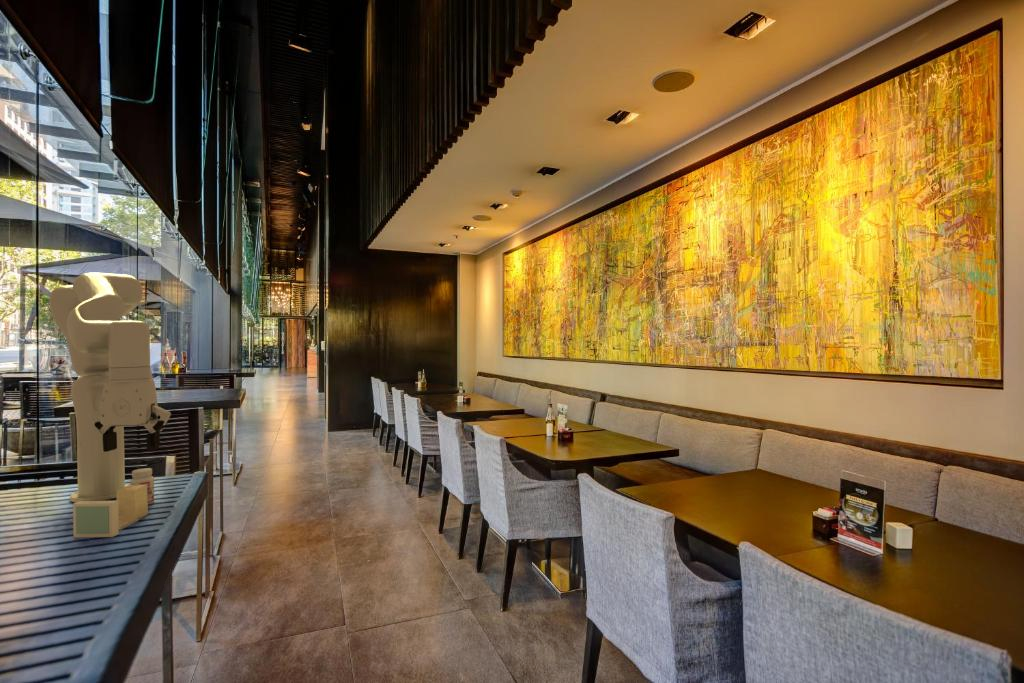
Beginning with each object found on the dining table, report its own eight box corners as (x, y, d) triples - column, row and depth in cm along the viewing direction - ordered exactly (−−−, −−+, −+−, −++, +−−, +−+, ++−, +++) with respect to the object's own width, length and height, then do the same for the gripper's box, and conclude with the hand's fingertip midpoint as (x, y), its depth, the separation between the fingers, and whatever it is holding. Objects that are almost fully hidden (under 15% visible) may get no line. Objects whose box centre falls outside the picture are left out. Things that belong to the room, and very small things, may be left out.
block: (80, 534, 105) (79, 501, 105) (118, 533, 105) (118, 500, 105) (72, 537, 104) (72, 504, 104) (111, 537, 104) (111, 503, 104)
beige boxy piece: (126, 514, 117) (126, 484, 117) (151, 514, 117) (150, 484, 117) (94, 530, 108) (93, 497, 108) (120, 529, 108) (120, 497, 108)
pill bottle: (141, 507, 121) (141, 473, 121) (125, 506, 122) (124, 472, 122) (159, 501, 126) (158, 467, 126) (143, 500, 127) (142, 467, 127)
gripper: (77, 376, 110) (79, 454, 111) (156, 375, 111) (158, 453, 111) (104, 374, 118) (106, 447, 118) (179, 373, 118) (180, 445, 118)
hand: (131, 450), depth 114 cm, fingers open, 9 cm apart
